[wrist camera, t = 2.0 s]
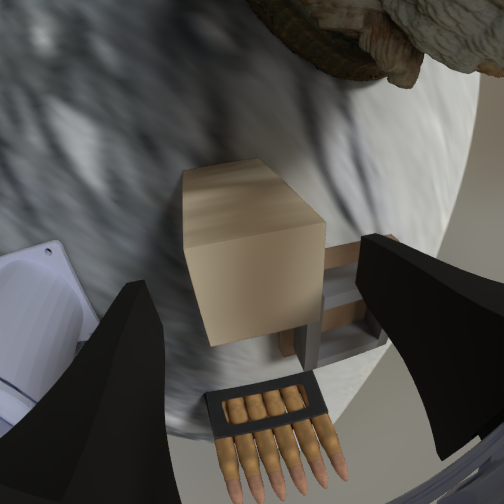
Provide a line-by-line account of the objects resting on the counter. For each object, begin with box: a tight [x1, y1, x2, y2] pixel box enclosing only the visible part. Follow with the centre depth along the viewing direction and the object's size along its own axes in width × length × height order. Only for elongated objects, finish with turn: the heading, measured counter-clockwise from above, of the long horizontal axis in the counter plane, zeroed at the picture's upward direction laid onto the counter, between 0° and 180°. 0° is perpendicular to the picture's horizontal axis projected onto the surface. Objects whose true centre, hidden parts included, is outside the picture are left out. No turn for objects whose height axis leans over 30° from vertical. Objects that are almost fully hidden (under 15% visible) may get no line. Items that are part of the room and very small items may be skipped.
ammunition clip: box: [204, 370, 348, 504], centre depth 21 cm, size 11×2×12 cm, turn 93°
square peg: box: [183, 158, 326, 347], centre depth 12 cm, size 4×4×8 cm
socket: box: [279, 234, 399, 372], centre depth 20 cm, size 9×9×4 cm
